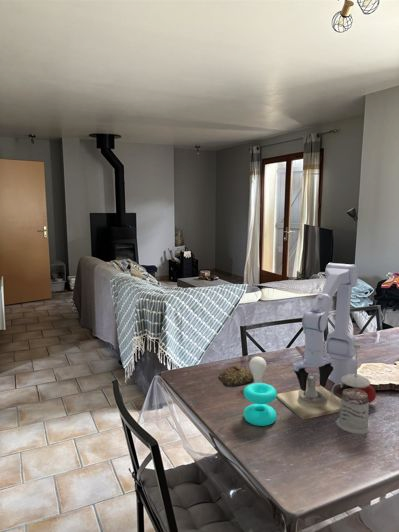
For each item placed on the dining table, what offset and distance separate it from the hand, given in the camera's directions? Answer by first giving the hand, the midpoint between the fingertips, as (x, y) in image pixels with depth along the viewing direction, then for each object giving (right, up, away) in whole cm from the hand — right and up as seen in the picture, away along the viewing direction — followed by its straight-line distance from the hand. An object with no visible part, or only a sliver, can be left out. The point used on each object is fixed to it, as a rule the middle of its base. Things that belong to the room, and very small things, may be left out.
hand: (312, 387), depth 133 cm
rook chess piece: (0, -4, +1) cm, 4 cm away
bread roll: (-24, -3, +21) cm, 32 cm away
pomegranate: (+17, -5, -1) cm, 18 cm away
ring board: (0, -5, +1) cm, 5 cm away
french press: (+8, -7, -12) cm, 16 cm away
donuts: (-19, -7, -9) cm, 22 cm away
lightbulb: (-16, -4, +14) cm, 22 cm away
